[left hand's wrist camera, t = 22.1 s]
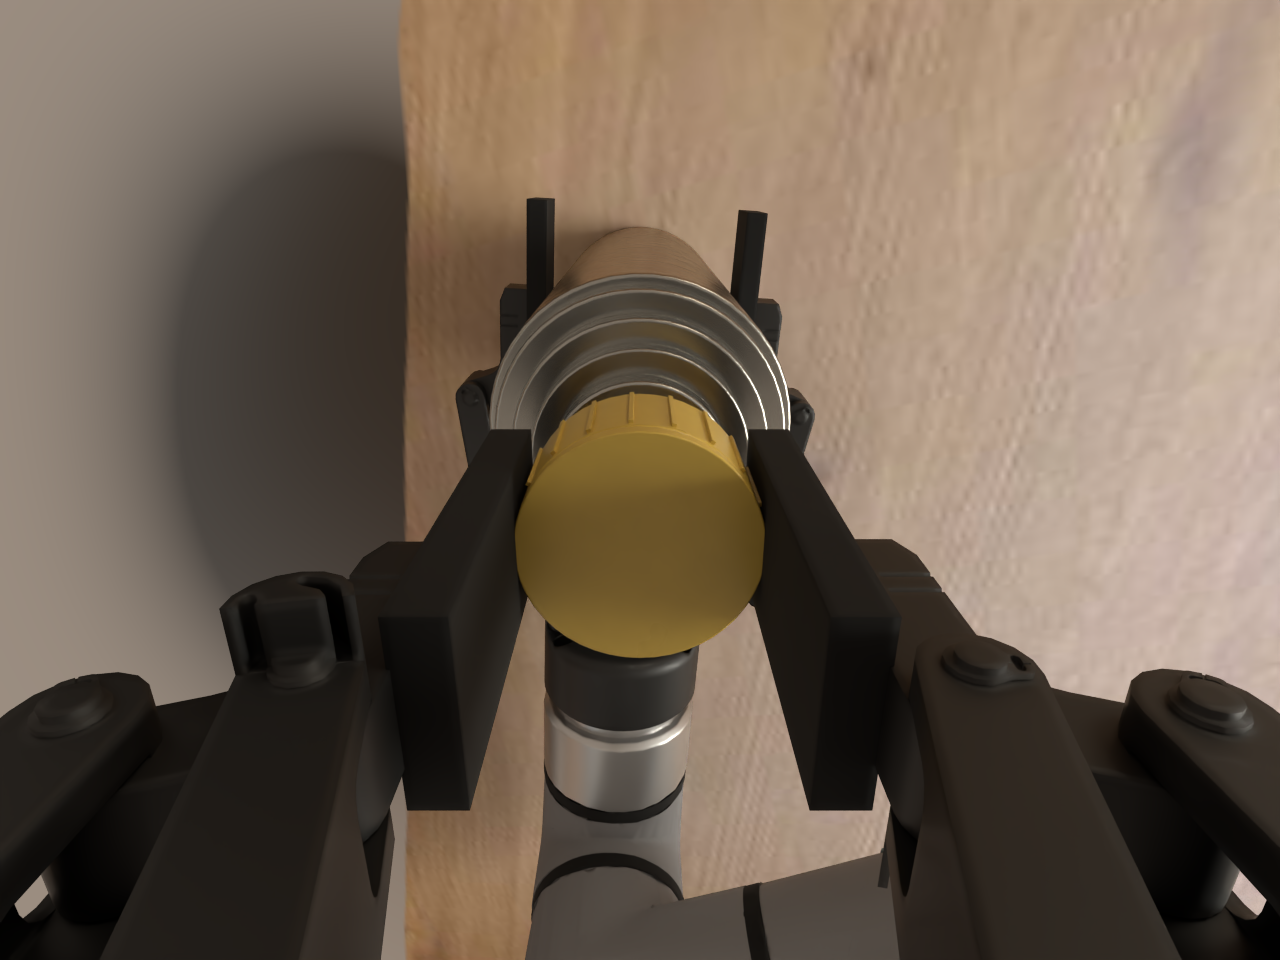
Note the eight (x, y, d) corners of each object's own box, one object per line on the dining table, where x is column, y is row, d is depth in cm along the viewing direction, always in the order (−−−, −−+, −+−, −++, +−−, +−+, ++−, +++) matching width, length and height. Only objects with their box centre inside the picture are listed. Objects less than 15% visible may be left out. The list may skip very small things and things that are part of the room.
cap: (555, 363, 13) (539, 397, 11) (781, 422, 14) (807, 466, 12) (509, 566, 15) (487, 629, 13) (713, 613, 15) (725, 683, 13)
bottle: (539, 339, 37) (361, 615, 13) (605, 197, 35) (531, 227, 11) (671, 405, 38) (721, 764, 15) (743, 273, 36) (946, 447, 12)
